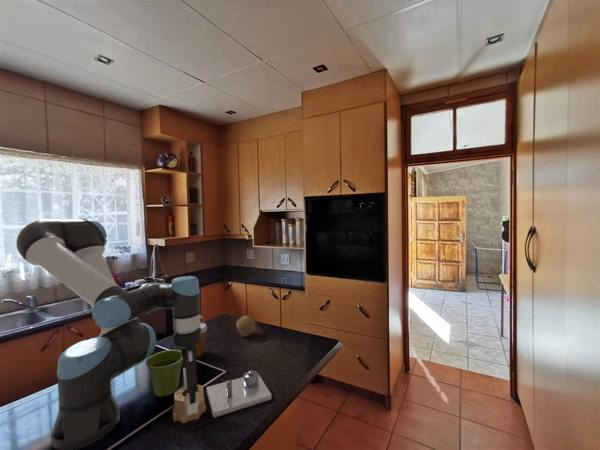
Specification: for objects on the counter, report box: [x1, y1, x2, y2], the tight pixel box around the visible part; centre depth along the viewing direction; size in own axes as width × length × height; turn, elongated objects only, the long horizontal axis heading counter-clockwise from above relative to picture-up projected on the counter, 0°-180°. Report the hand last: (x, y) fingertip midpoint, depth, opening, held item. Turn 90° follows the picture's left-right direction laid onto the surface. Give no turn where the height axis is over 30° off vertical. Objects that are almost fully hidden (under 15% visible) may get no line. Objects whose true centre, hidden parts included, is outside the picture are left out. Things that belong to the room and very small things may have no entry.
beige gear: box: [172, 384, 207, 424], centre depth 84 cm, size 9×9×6 cm
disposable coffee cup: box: [195, 322, 208, 358], centre depth 120 cm, size 10×10×12 cm
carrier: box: [205, 369, 272, 418], centre depth 91 cm, size 18×14×6 cm
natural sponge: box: [236, 315, 256, 338], centre depth 138 cm, size 9×9×10 cm
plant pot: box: [145, 349, 183, 398], centre depth 94 cm, size 12×12×11 cm
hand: (190, 399), depth 84 cm, fingers open, 13 cm apart
